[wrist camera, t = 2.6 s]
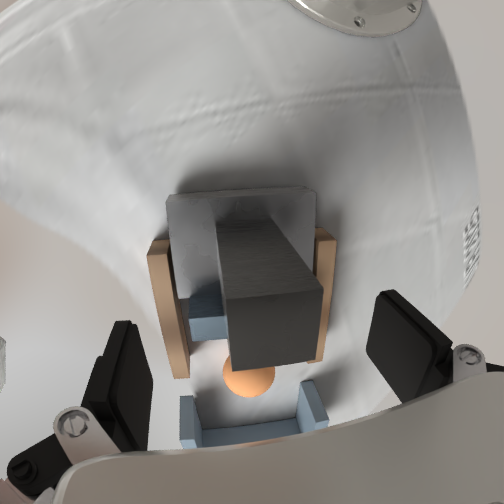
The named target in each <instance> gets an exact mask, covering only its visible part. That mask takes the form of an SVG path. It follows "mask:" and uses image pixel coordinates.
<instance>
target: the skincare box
mask: <svg viewBox="0 0 504 504" xmlns="http://www.w3.org/2000/svg"><path fill="white" fill-rule="evenodd" d="M5 345H6V341H5V340H4V339H3V338H1V337H0V393H1V390H2V388H3V386H4V384H5Z"/></svg>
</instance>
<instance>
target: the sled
mask: <svg viewBox="0 0 504 504" xmlns="http://www.w3.org/2000/svg"><path fill="white" fill-rule="evenodd" d="M166 211H167V220H168V229H169V237H170V245H171V252H172V260H173V267H174V274H175V280H176V287H177V293H178V299H182V298H189V318H188V319H189V325H190V331H191V337H192V342H193V341H206V340H217V339H227V340H228V347H229V354H230V361H231V367H232V372H234V371H243V370H252V369H260V368H267V367H274V366H281V365H288V364H294V363H300V362H306V361H311V360H315V359H316V351H317V344H318V336H319V328H320V320H321V312H322V302H323V293H324V288H323V286H322V285H321V284H320V282H319V281H318V280H317V278H316V277H315V276H314V274H313V273H312V271H313V256H314V238H315V216H316V193H315V192H314V191H312V190H310V189H309V188H307V187H277V188H255V189H237V190H222V191H208V192H195V193H184V194H173V195H169V197H168V199H167V201H166Z"/></svg>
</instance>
